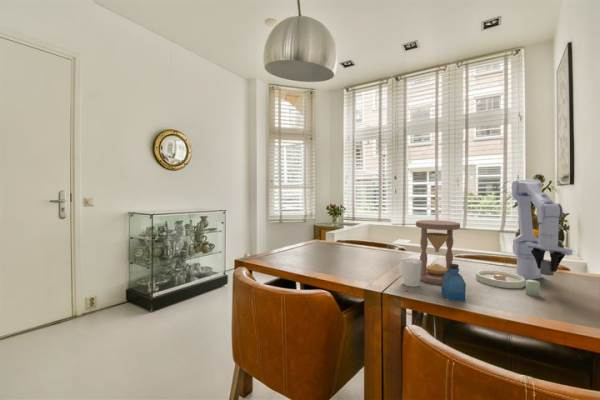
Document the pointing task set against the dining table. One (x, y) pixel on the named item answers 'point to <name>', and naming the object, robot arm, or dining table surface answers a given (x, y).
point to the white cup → (411, 272)
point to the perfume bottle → (453, 284)
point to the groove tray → (500, 278)
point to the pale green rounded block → (532, 287)
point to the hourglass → (437, 240)
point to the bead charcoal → (546, 268)
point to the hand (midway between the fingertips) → (547, 269)
